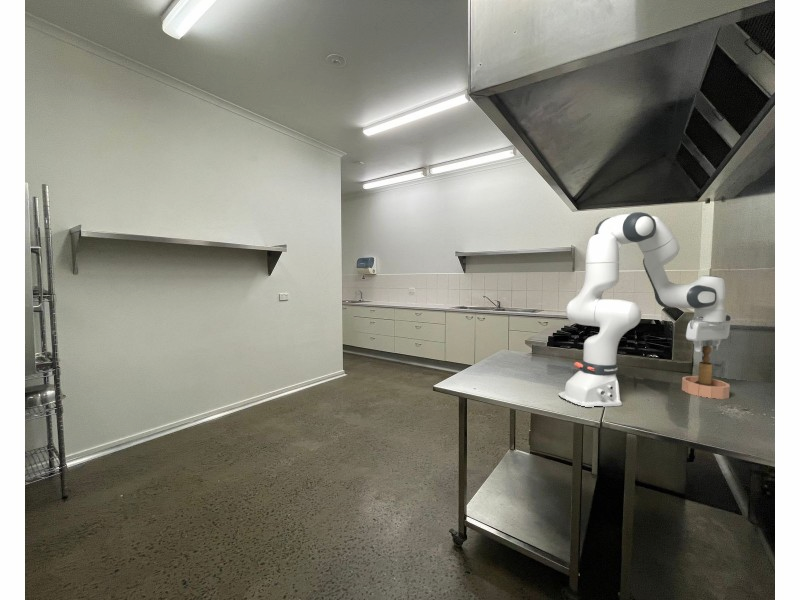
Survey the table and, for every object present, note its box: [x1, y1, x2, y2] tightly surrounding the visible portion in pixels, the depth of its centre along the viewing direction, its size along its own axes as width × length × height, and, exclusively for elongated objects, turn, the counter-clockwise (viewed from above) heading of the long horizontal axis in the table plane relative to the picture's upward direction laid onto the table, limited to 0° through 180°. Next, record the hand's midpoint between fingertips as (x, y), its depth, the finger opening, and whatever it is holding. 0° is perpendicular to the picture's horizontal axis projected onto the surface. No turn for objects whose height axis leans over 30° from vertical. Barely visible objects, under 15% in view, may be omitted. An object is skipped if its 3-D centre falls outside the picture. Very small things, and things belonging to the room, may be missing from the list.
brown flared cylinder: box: [694, 345, 714, 386], centre depth 134 cm, size 7×6×18 cm
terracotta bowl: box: [681, 375, 731, 400], centre depth 134 cm, size 14×14×4 cm
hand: (706, 350), depth 133 cm, fingers open, 8 cm apart
